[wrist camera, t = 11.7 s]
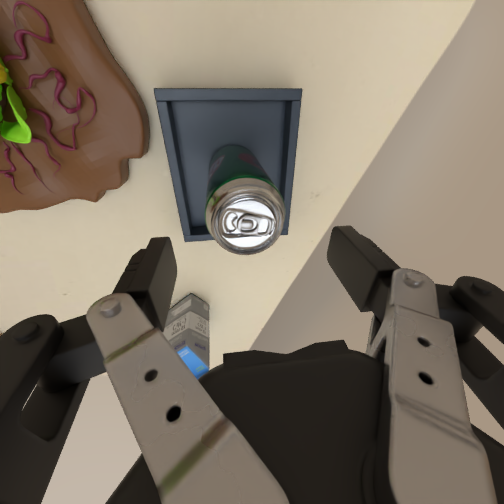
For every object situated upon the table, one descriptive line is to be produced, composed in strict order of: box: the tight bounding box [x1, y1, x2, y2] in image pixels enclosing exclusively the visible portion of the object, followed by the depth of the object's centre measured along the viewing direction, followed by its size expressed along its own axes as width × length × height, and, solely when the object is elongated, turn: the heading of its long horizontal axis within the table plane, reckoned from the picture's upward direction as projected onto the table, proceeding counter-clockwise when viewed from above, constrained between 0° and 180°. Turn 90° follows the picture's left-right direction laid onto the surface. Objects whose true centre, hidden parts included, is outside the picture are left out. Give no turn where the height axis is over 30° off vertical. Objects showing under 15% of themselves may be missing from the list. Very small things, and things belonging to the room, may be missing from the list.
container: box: [154, 88, 302, 242], centre depth 22 cm, size 14×12×3 cm
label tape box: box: [162, 294, 209, 380], centre depth 29 cm, size 9×4×12 cm, turn 128°
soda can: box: [204, 145, 286, 255], centre depth 18 cm, size 5×5×12 cm
